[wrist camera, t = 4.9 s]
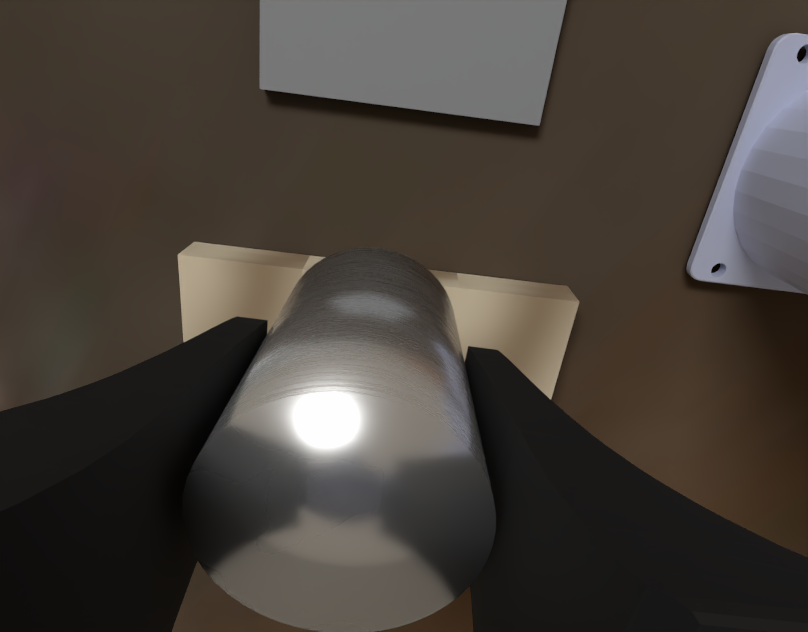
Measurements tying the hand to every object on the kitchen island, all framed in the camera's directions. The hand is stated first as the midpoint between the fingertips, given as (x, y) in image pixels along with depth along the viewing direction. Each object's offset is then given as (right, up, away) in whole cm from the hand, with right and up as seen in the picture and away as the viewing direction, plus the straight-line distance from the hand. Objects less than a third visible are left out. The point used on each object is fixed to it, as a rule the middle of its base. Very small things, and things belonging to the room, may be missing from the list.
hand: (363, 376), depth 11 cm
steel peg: (0, +1, +2) cm, 2 cm away
